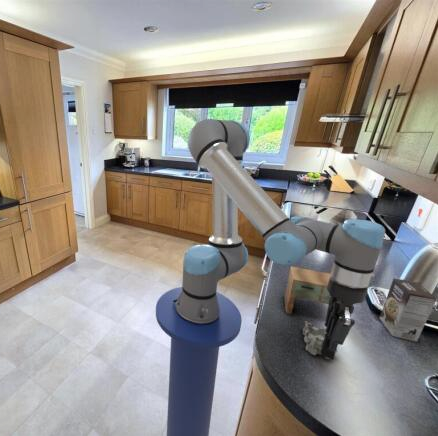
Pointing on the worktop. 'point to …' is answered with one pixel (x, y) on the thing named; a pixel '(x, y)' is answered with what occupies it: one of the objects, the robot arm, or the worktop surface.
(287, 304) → the drawer unit
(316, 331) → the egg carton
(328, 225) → the robot arm
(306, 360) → the worktop surface
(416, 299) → the coffee box
